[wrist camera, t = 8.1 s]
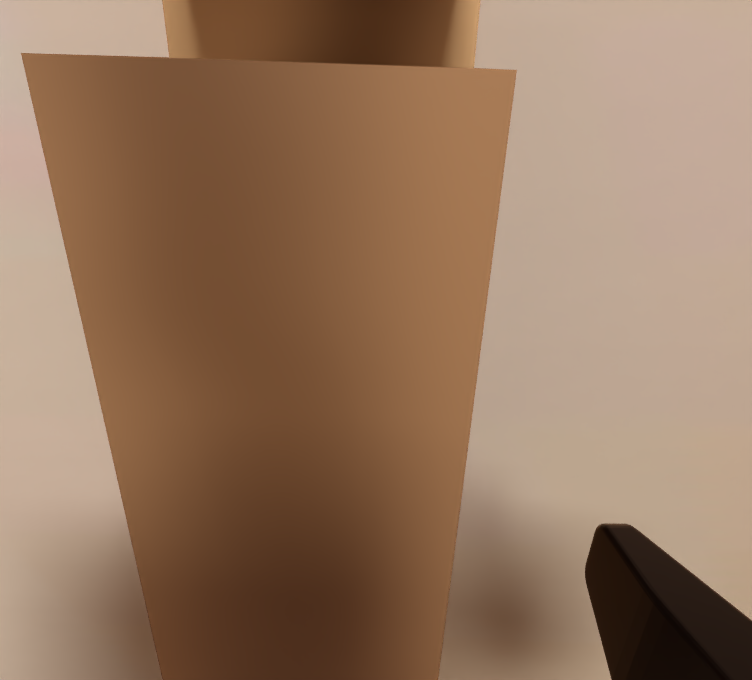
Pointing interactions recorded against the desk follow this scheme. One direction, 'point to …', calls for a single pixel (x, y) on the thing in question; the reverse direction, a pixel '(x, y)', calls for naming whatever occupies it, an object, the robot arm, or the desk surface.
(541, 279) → the desk surface
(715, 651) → the robot arm
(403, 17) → the peg frame
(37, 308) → the desk surface
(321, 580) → the brown rectangular block
